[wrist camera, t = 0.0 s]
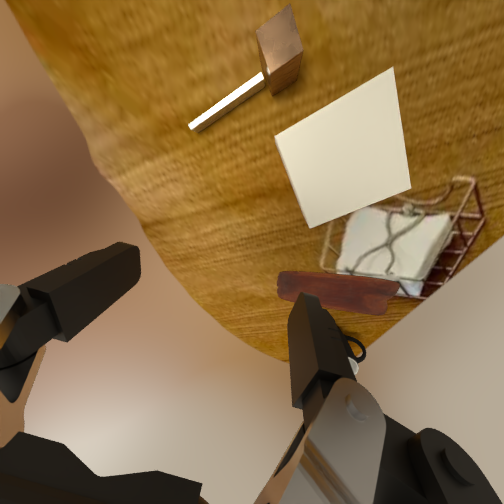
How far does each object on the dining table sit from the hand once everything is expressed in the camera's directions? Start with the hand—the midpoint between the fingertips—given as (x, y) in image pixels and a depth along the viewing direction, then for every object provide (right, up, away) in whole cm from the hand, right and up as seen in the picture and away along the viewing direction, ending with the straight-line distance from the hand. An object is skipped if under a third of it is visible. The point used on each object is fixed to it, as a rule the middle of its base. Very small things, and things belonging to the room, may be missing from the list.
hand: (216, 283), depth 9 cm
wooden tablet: (+21, -7, +34) cm, 41 cm away
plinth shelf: (+15, +17, +22) cm, 32 cm away
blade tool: (0, +26, +20) cm, 33 cm away
